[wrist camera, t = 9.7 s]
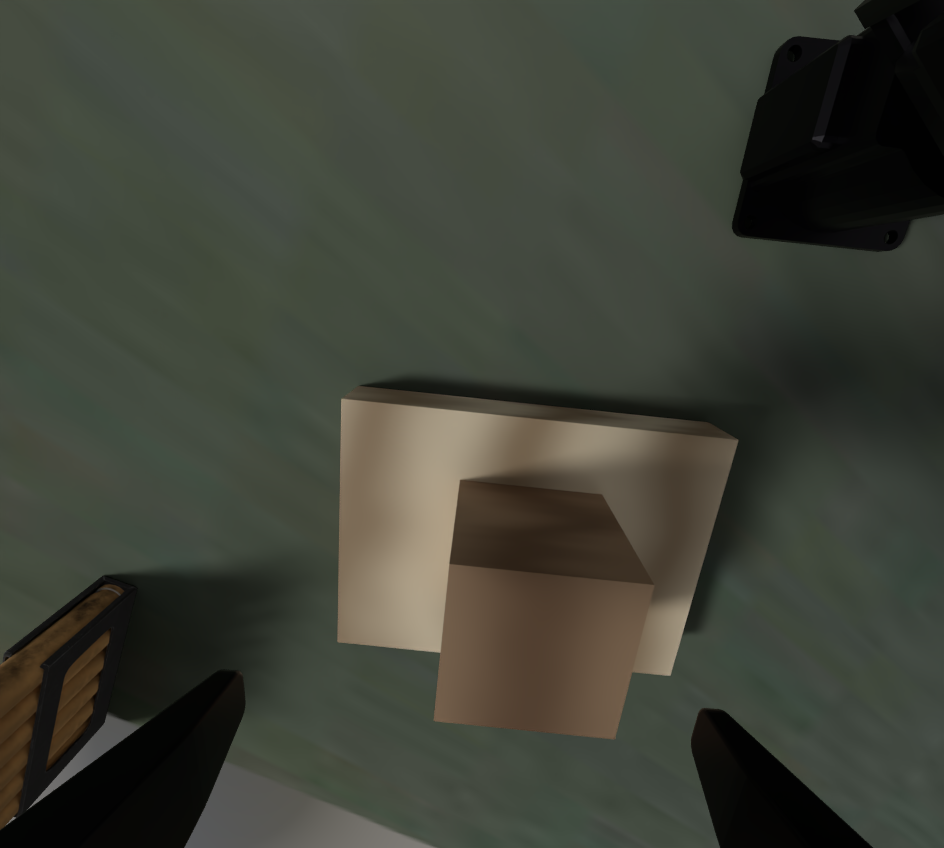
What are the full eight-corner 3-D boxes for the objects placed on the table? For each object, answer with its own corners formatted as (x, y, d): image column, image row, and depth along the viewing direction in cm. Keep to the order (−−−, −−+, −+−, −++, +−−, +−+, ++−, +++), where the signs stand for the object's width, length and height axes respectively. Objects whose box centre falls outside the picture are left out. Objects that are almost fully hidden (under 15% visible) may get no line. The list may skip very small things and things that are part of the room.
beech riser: (708, 422, 20) (738, 440, 18) (651, 636, 24) (670, 675, 21) (358, 385, 20) (341, 398, 18) (352, 606, 24) (337, 642, 21)
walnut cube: (602, 494, 19) (654, 585, 13) (577, 612, 20) (614, 739, 15) (460, 479, 19) (448, 564, 13) (447, 599, 20) (433, 721, 15)
